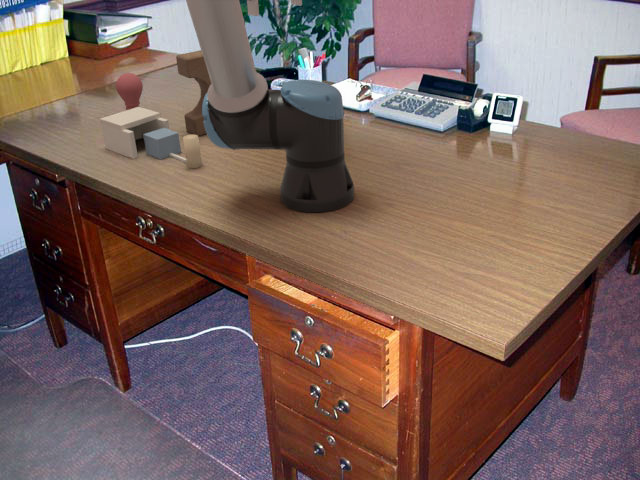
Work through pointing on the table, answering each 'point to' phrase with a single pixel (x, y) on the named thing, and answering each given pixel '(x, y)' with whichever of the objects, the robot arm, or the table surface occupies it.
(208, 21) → the robot arm
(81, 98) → the table surface
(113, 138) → the shelf lane
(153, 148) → the tethered block
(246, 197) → the table surface
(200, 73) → the decorative block
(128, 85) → the light bulb
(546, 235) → the table surface
